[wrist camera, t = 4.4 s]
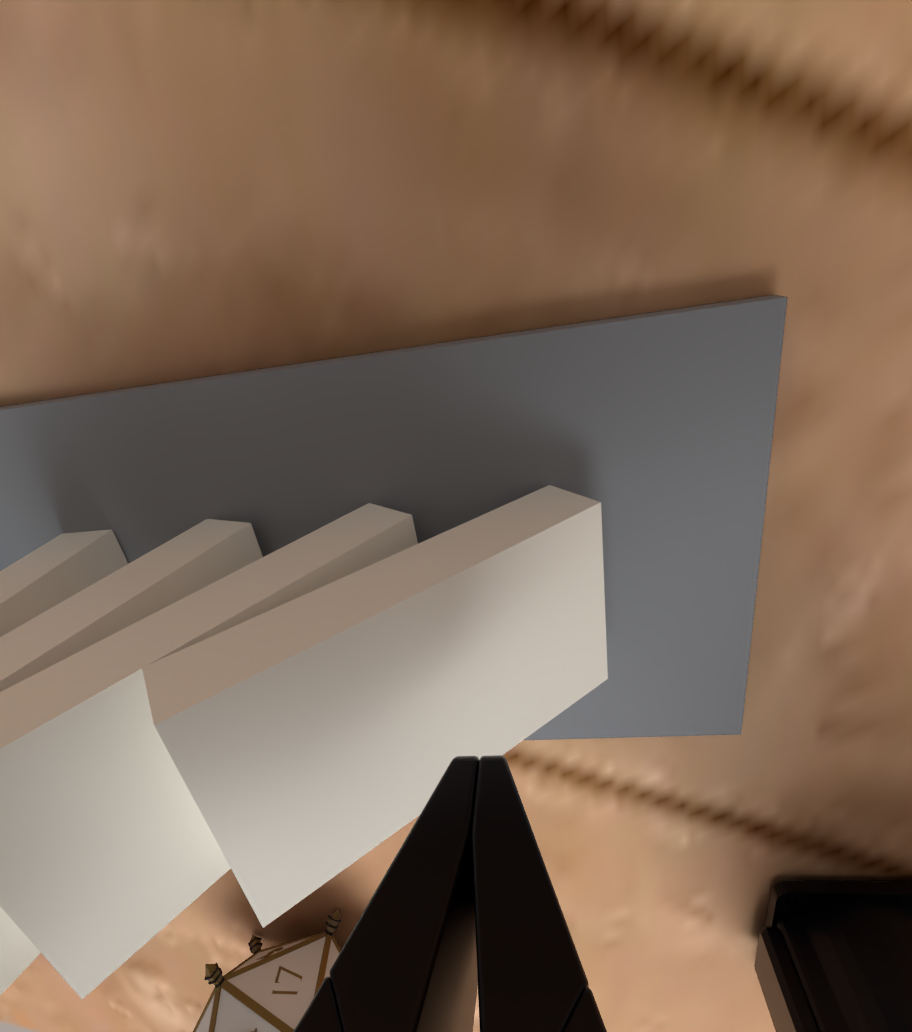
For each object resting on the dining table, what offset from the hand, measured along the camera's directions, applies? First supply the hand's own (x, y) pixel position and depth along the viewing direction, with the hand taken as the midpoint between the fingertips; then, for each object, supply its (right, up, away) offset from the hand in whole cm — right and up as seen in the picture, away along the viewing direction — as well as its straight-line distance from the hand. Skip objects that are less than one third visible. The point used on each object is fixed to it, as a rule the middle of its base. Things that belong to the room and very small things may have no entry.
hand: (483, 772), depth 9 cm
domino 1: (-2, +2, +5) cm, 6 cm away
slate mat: (-6, +2, +7) cm, 9 cm away
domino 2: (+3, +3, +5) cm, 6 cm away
